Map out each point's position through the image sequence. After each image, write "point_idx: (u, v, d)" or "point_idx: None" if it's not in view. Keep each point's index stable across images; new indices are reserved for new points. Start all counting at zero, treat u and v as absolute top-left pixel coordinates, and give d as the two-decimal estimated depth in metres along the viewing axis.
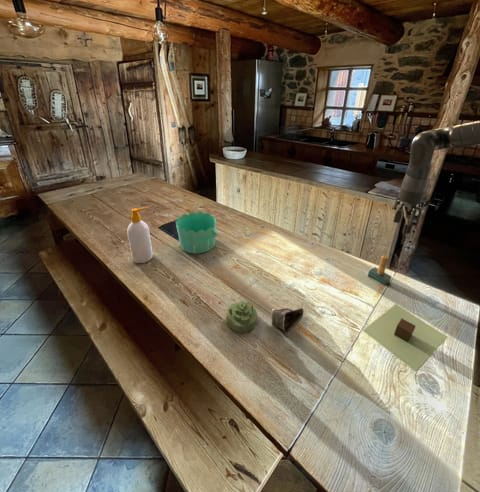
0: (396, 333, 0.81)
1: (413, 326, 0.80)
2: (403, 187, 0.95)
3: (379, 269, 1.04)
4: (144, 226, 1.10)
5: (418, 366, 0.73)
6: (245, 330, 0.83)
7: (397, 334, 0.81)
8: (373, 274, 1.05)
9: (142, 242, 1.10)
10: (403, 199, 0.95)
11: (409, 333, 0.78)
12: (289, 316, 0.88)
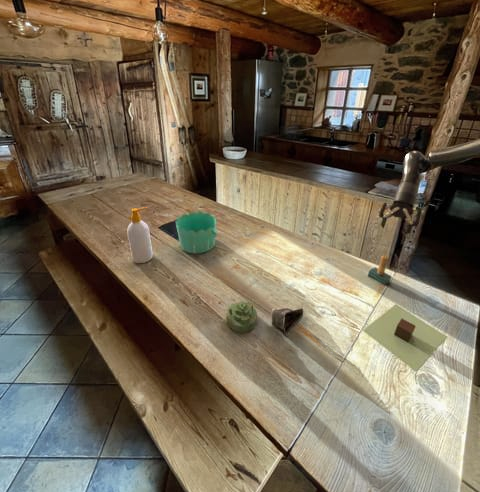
0: (396, 333, 0.81)
1: (413, 326, 0.80)
2: (408, 191, 1.07)
3: (379, 269, 1.04)
4: (144, 226, 1.10)
5: (418, 366, 0.73)
6: (245, 330, 0.83)
7: (397, 334, 0.81)
8: (373, 274, 1.05)
9: (142, 242, 1.10)
10: (409, 201, 1.06)
11: (409, 333, 0.78)
12: (289, 316, 0.88)
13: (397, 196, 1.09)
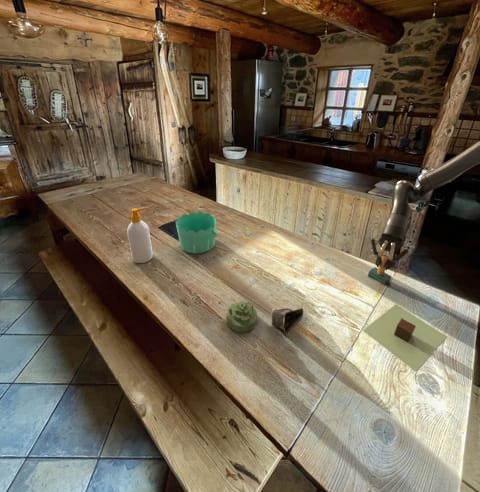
0: (396, 333, 0.81)
1: (413, 326, 0.80)
2: (397, 224, 1.02)
3: (379, 269, 1.04)
4: (144, 226, 1.10)
5: (418, 366, 0.73)
6: (245, 330, 0.83)
7: (397, 334, 0.81)
8: (373, 274, 1.05)
9: (142, 242, 1.10)
10: (398, 235, 1.01)
11: (409, 333, 0.78)
12: (289, 316, 0.88)
13: (386, 229, 1.04)
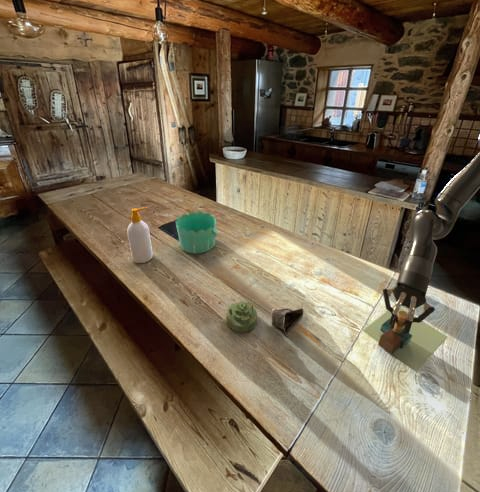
0: (380, 343, 0.78)
1: (399, 339, 0.76)
2: (419, 271, 0.75)
3: (395, 327, 0.78)
4: (144, 226, 1.10)
5: (418, 366, 0.73)
6: (245, 330, 0.83)
7: (381, 344, 0.78)
8: None
9: (142, 242, 1.10)
10: (420, 287, 0.74)
11: (391, 345, 0.75)
12: (289, 316, 0.88)
13: (403, 276, 0.77)
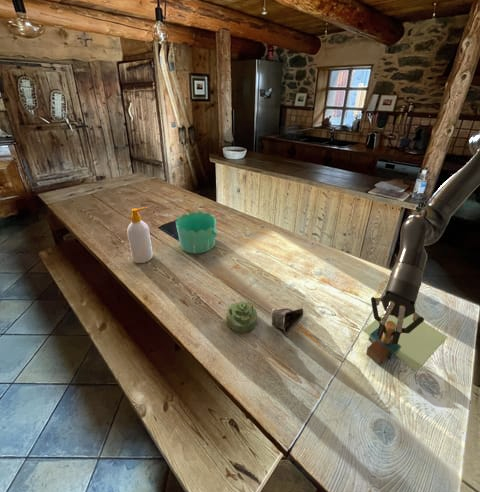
0: (368, 355, 0.76)
1: (386, 351, 0.73)
2: (408, 279, 0.72)
3: (383, 337, 0.74)
4: (144, 226, 1.10)
5: (418, 366, 0.73)
6: (245, 330, 0.83)
7: None
8: (375, 340, 0.77)
9: (142, 242, 1.10)
10: (409, 296, 0.71)
11: (378, 358, 0.72)
12: (289, 316, 0.88)
13: (391, 284, 0.74)
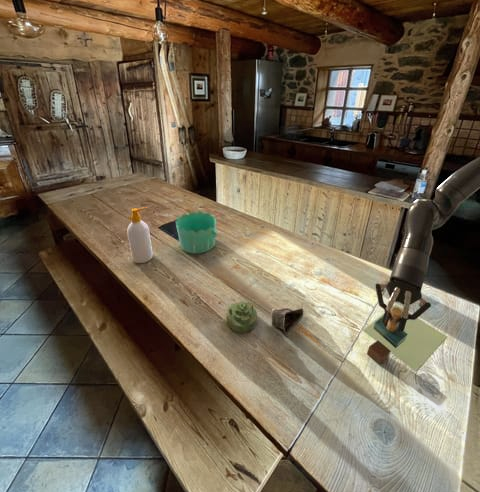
0: (368, 354, 0.76)
1: (387, 351, 0.74)
2: (414, 264, 0.70)
3: (389, 325, 0.72)
4: (144, 226, 1.10)
5: (418, 366, 0.73)
6: (245, 330, 0.83)
7: None
8: (380, 329, 0.74)
9: (142, 242, 1.10)
10: (415, 281, 0.69)
11: (380, 357, 0.72)
12: (289, 316, 0.88)
13: (397, 270, 0.72)
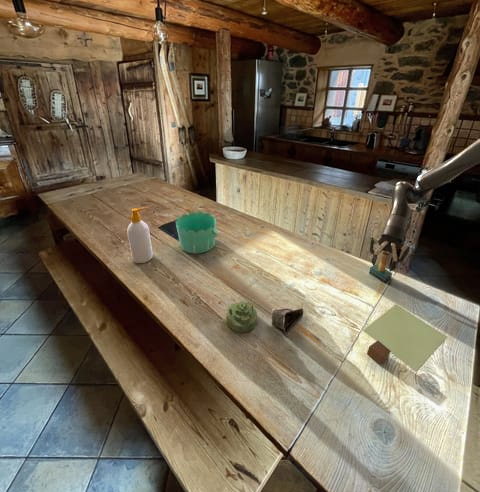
0: (368, 354, 0.76)
1: (387, 351, 0.74)
2: (397, 225, 1.02)
3: (380, 266, 1.06)
4: (144, 226, 1.10)
5: (418, 366, 0.73)
6: (245, 330, 0.83)
7: None
8: (374, 271, 1.07)
9: (142, 242, 1.10)
10: (398, 236, 1.01)
11: (380, 357, 0.72)
12: (289, 316, 0.88)
13: (385, 229, 1.05)
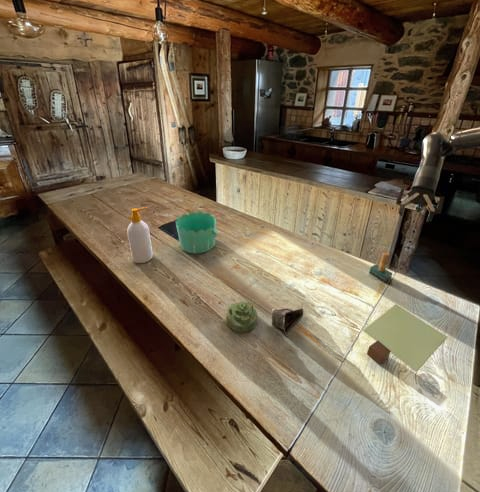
0: (368, 354, 0.76)
1: (387, 351, 0.74)
2: (429, 175, 0.97)
3: (380, 266, 1.06)
4: (144, 226, 1.10)
5: (418, 366, 0.73)
6: (245, 330, 0.83)
7: None
8: (374, 270, 1.07)
9: (142, 242, 1.10)
10: (430, 186, 0.96)
11: (380, 357, 0.72)
12: (289, 316, 0.88)
13: (416, 181, 0.99)
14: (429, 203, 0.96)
